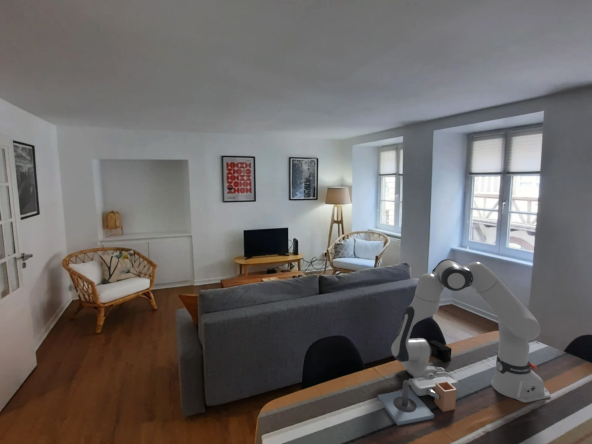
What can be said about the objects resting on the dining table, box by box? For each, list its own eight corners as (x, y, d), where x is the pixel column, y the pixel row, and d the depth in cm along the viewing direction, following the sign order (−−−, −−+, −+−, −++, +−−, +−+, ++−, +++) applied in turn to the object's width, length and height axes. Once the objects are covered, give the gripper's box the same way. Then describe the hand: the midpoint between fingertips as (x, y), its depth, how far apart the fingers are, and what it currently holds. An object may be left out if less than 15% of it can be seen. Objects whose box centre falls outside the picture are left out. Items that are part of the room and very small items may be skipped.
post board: (410, 392, 146) (412, 366, 144) (433, 418, 130) (435, 389, 129) (377, 398, 142) (378, 371, 140) (397, 425, 127) (399, 396, 125)
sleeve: (445, 400, 141) (447, 381, 139) (454, 409, 135) (456, 389, 134) (434, 402, 139) (435, 383, 138) (443, 411, 134) (444, 391, 133)
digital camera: (426, 354, 177) (427, 342, 176) (433, 351, 180) (433, 339, 178) (444, 363, 168) (445, 351, 167) (450, 360, 171) (451, 348, 170)
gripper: (405, 373, 146) (425, 393, 133) (445, 366, 151) (468, 385, 138) (405, 386, 147) (424, 407, 134) (444, 379, 152) (466, 399, 138)
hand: (446, 396), depth 136 cm, fingers closed on sleeve, 6 cm apart
